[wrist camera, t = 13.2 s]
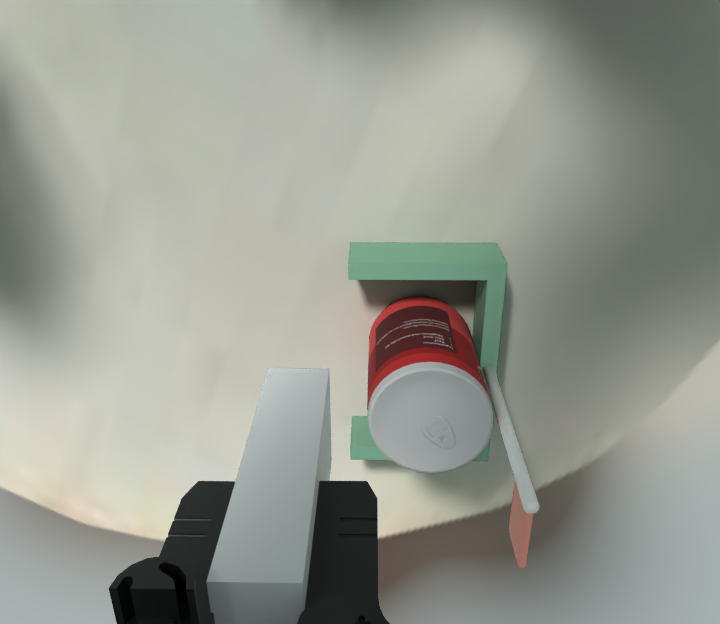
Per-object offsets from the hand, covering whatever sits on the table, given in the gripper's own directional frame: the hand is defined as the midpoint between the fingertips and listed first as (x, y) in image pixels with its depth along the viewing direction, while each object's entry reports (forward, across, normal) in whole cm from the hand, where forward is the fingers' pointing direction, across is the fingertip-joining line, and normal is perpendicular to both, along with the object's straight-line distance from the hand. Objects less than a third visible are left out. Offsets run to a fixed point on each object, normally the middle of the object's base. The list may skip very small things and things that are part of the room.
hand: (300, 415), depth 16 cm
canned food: (+31, +5, -14) cm, 34 cm away
